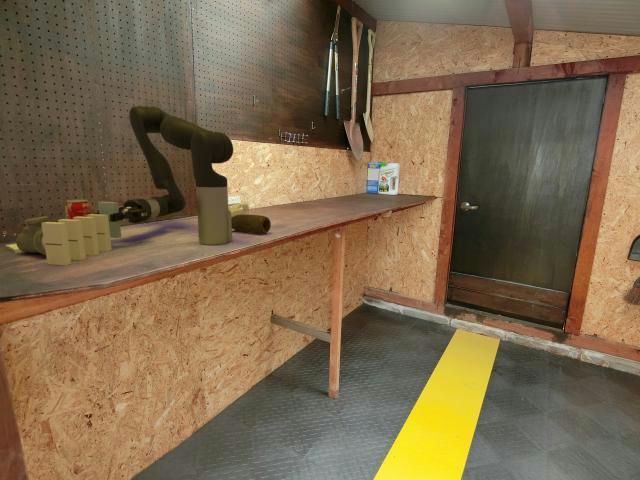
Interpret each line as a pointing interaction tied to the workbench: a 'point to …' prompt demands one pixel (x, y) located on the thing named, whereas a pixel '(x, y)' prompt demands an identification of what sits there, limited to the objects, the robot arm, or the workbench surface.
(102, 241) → the domino
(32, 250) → the pipe fitting
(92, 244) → the domino
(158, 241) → the workbench surface
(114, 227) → the domino
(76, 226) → the domino
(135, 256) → the workbench surface
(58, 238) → the domino
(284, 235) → the workbench surface
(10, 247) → the external hard drive
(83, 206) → the soda can
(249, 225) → the portable bluetooth speaker
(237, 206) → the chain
